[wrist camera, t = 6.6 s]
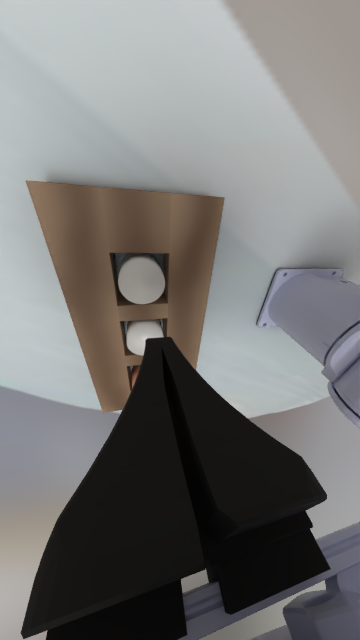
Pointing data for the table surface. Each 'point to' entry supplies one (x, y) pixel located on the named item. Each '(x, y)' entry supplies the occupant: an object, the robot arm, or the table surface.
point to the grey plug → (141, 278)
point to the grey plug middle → (142, 334)
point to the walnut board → (101, 275)
